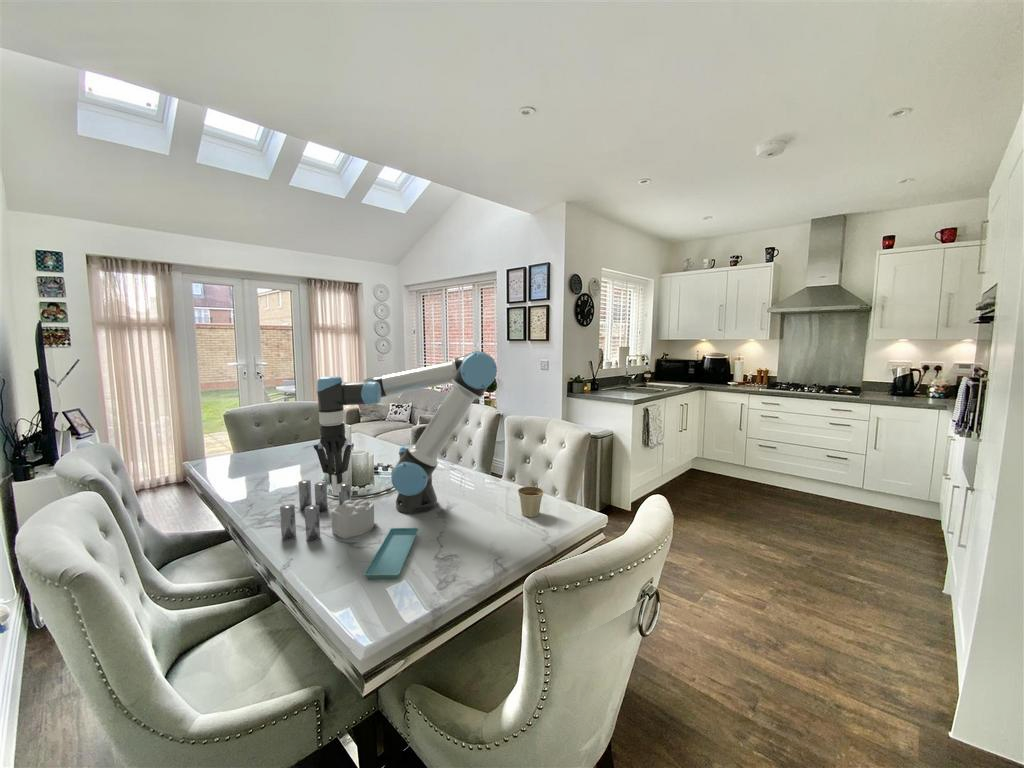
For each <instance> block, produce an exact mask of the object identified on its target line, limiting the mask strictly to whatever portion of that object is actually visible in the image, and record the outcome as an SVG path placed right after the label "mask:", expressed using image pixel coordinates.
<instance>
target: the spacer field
mask: <svg viewBox="0 0 1024 768" xmlns="http://www.w3.org/2000/svg"><path fill="white" fill-rule="evenodd" d="M311 482H312V481H311V480H310V479H303V480H300V481H298V498H299V499H298V501H299V510H300V509H301V510H300V511H304V522H305V540H306V541H307V542H315V540H316V541H318V540H320V539H321V523H320V521H321V520H320V518H321V517H320V513H319V512H321V513H324V512H327V511H328V510H329V507H328V505H329V504H328V503H329V502H328V483H327V482H326V481H320V482H319V481H318V482H316V483H314V500H315V502H314V503H315V504H312V503H313V502H312V501H313V500H312V485H311V484H312V483H311ZM351 488H352V486H351V482H342V483H341V492H340V493H338V503H339V505H338V506H340V505H343V503H344V502H345V501H347V500H351V501H352V492H351V491H352V489H351ZM295 507H296V506H295V504H294V503H288V504H283V505H281V506H280V507H279V511H280V513H279V515H280V530H281V531H280V533H281V534H280V535H281V540H282V539H283V540H282V541H290V540H289V539H291V540H293V538H294V537H295V538H296V537H297V530H296V529H297V526H296V510H295V509H296V508H295ZM295 538H294V539H295ZM319 538H320V539H319ZM317 539H318V540H317Z"/></svg>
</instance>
